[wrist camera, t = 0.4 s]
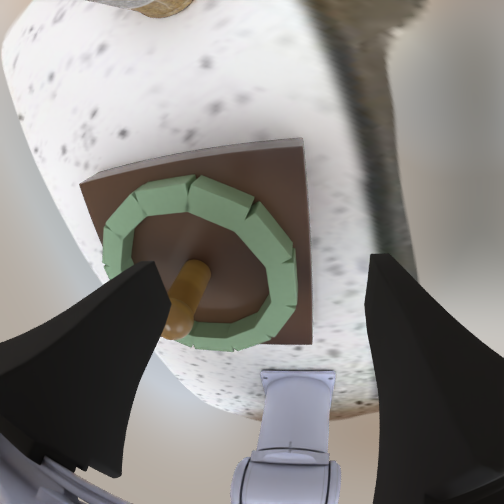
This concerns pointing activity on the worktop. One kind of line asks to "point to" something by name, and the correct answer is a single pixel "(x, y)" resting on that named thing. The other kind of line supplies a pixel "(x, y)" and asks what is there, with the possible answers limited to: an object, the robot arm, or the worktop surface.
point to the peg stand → (217, 233)
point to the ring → (226, 215)
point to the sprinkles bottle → (149, 6)
